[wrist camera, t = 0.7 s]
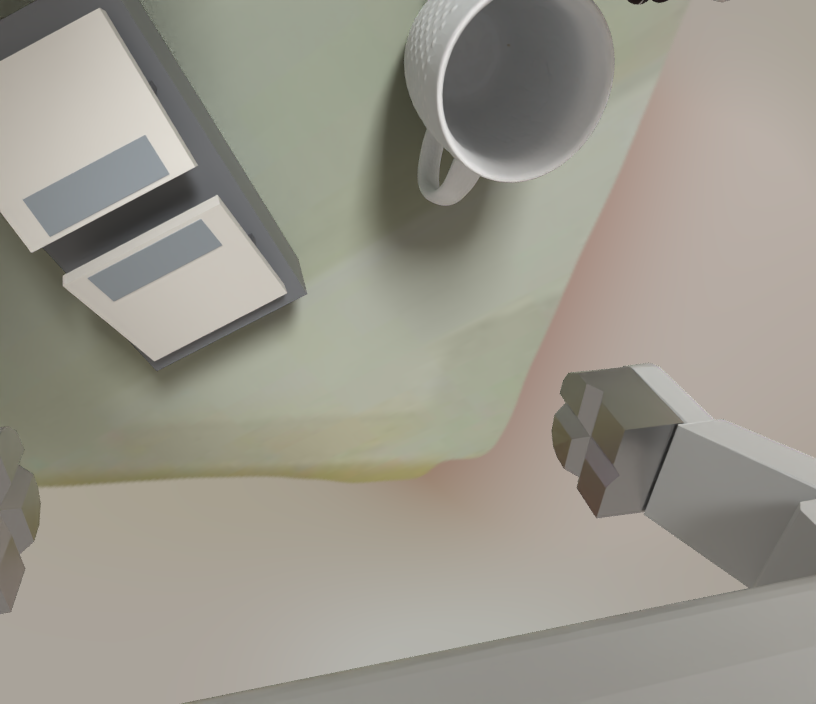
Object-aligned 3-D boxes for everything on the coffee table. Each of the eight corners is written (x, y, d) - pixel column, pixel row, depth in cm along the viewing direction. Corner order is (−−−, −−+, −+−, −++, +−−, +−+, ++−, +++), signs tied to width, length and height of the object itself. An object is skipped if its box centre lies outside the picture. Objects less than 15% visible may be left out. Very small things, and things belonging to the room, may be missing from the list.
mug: (466, 190, 52) (529, 258, 41) (344, 148, 47) (381, 213, 37) (551, 1, 45) (653, 26, 35) (418, -69, 40) (489, -65, 30)
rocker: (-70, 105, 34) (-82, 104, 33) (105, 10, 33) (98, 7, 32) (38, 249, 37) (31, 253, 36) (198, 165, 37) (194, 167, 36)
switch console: (-74, 61, 38) (-126, 87, 32) (114, -40, 37) (96, -33, 31) (159, 330, 52) (153, 382, 46) (298, 259, 51) (309, 302, 45)
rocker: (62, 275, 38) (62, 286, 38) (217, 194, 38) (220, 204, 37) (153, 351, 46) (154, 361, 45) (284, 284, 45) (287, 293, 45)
